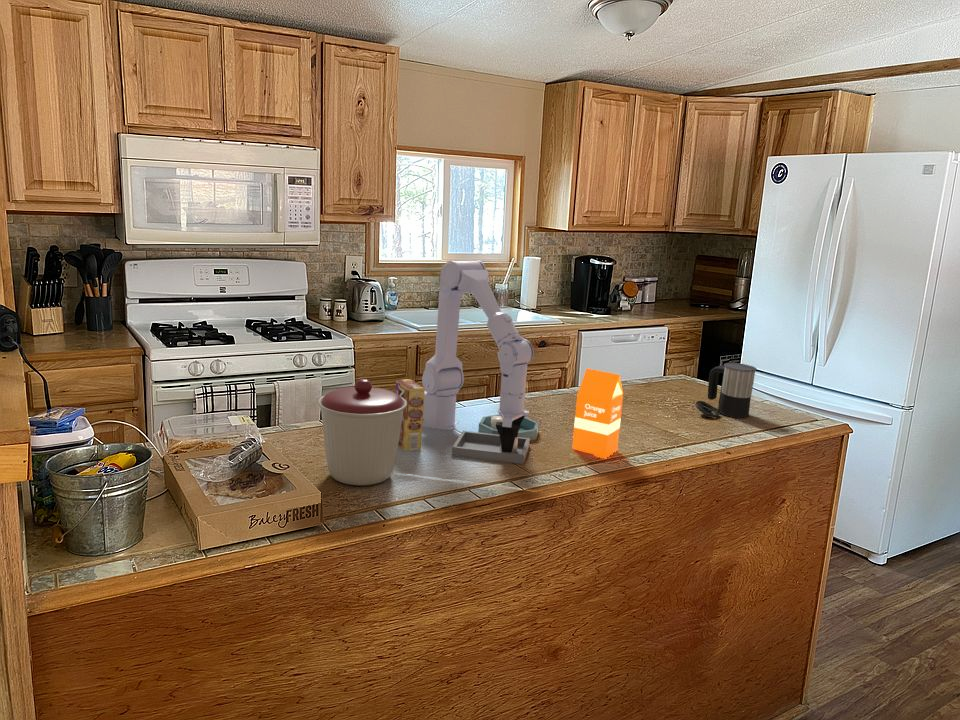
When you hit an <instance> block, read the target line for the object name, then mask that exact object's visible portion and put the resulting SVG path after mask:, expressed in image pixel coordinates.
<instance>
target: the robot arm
mask: <svg viewBox="0 0 960 720" xmlns="http://www.w3.org/2000/svg"><path fill="white" fill-rule="evenodd" d="M439 275H440V279H439V290H438V291H439V292H438V307H437V309H438V310H437V322H436V333H435V334H436V336H435V337H436V338H435V350H434V352H435V353H434V355H433V356H432V357H431V358H430V359H429V360H427V361H426V362H425V366H424V367H425V368H424V371H423V373H422V378H421V382H422V387H423V388H425V394H424V409H423V424H422V428H429V429H438V430H449V431H453V430H454V429H455V428H456V426H457V425H458V423H459V422H460V421H459V420H458V419H457V420H456V410H457V409H456V405H457V394H458V393H459V390H460V389H461V388H462V387H463V385H464V382H465V375H464V371H463V362H462V361H461V360H460V359H459V358H458V357H457V351H458V350H457V349H458V348H457V347H458V339H459V338H458V336H459V324H460V310H461V298H462V296H463V295H465V294H466V293H467V294H468V293H469V294H472V296H473V297H474V298H475V300H476V302H477V303H478V305H479V306H480V308H481V309H482V311H483V312H484V314H485V315H486V318H487V323H486V327H487V329H488V331H489V333H490V334H491V337H492V338H493V340H494V342H495V344H496V346H497V348H498V350H499V351H497V358H498V359H497V360H498V362H499V365H500V367H499V370H500V373H501V378H500V379H501V380H500V393H499V394H500V395H499V407H498V409H497V412H498V413H497V414H498V415H499V414H500V416H501V417H502V419H503V422H496V429H497V431H498V433H499V436H500V442H501V449H502V452H508V453H511V452H512V449H513V445H514V441H515V437H516V438H517V435H518V431H519V429H520V427H521V426H520V425H521V422H522V421H523V419H524V417H527V416H529V414H530V411H529V410H526V409H525V401H526V400H525V398H526V388H527V374H528V373H527V372H528V364H530V363H531V362H532V361H533V359H534V353H535V351H534V347H533V345H532V343H531V341H529V339H526V338H524V337H523V336H522V335H521V334H520V333H519V331H518V329H517V327H516V326H515V324H514V322H513V319H512V317H511V316H510V315H509V314H508V313H506V312H503V311H502V310H501V307H500V306H499V303H498V302H497V299H496V296H495V294H494V293H493V290H492V288H491V286H490V283H489V278H490V277H489V276H490V273H489V271H488V270H487V267H486V265H485V263H484V262H483V261H482V260H478V259H477V260H464V261H461V260H459V261H456V260H455V261H454V260H449V261H446V263H444V264H443V265H442V266H441V267H440V274H439Z"/></svg>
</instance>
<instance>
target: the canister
mask: <svg viewBox="0 0 960 720" xmlns="http://www.w3.org/2000/svg"><path fill="white" fill-rule="evenodd" d="M317 405H318V407H319V408H320V410H321V411H320V412H321V423H322V429H323V430H322V432H323V443H324V451H325V459H326V466H327V469H328V470H327V471H328V472H329V474H330V475H331V477H332V478H333V479H334V480H335V481H337V482H339V483H341V484H345V485H348V486H349V485H350V486H351V485H352V486H371V485H375V484H380V483H383V482H384V481H386V480H387V479H388V478H389V477H390V476H391V475H392V473H393V471H394V468H395V465H396V459H397V455H398V449H399V444H398V443H399V437H400V430H401V424H402V417H403V410H404V409H405V408H406V406H407V401H406V400H405V399H404V398H402V397H400V396H399V395H398V394H396V392H395V391H391V390H389V389H386V388H380V387H373V384H372V382H371V381H370V380H368V379H366V378H362V379H361V378H360V379H358V380H356V381H355V383H354V386H350V387H341V388H337V389H334V390H331V391H329V392H327V393H326V394H324V395H322V396H321V397H319V399H318V400H317Z"/></svg>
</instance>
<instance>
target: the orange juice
mask: <svg viewBox="0 0 960 720" xmlns="http://www.w3.org/2000/svg"><path fill="white" fill-rule="evenodd" d="M623 401H624V391H623V386H622V380H621V374H619V373H612V372H608V371H601V370H595V369H591V368H586V369H585V372H584V375H583V378H582V380H581V383H580V386H579V388H578V392H577V395H576V404H575V405H576V406H575V415H574V416H575V417H574V424H573V437H572V447H571V448H572V450H575V451H579V452H583V453H587V454H591V455H594V457H595V456H596V457H595V458H599V457H600V459H603V458H604V459H603V460H607V459H608V458H610V455H611V456H612V455H613V453H614V452H615V453H617V452H618V446H619V436H620V428H621V419H622V410H623ZM616 451H617V452H616ZM615 453H614V454H615ZM607 457H608V458H607Z"/></svg>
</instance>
